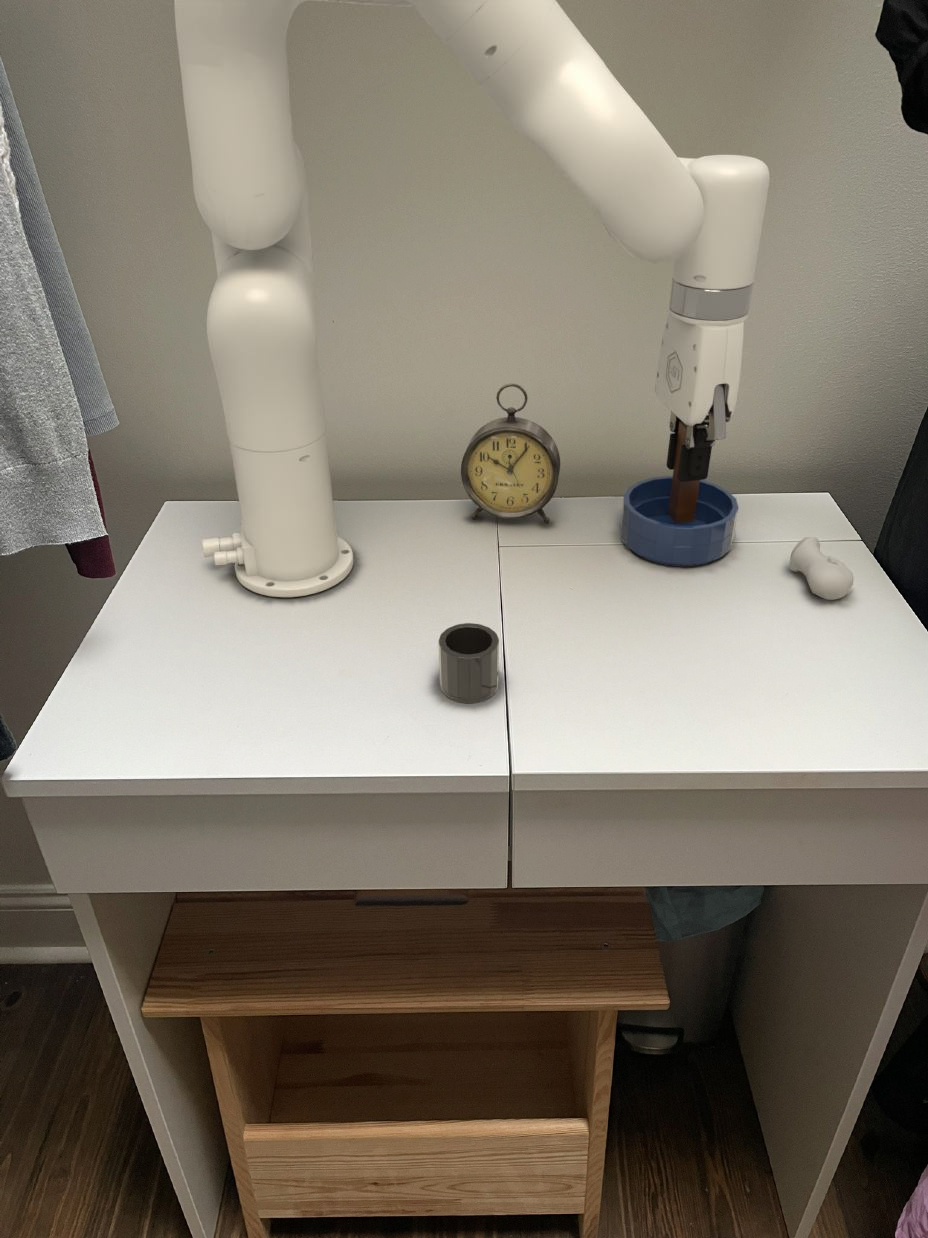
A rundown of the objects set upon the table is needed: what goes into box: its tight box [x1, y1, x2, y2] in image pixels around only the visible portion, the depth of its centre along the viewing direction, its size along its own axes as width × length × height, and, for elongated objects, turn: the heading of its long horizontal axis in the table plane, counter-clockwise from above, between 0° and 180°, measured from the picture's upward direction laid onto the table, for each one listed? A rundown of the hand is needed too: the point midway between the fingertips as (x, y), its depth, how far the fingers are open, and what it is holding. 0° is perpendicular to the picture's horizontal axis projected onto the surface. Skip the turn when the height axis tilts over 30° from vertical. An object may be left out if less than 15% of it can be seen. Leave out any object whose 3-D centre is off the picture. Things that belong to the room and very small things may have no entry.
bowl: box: [619, 475, 739, 567], centre depth 104 cm, size 12×12×5 cm
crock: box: [438, 622, 500, 704], centre depth 84 cm, size 5×5×5 cm
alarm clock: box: [460, 383, 561, 524], centre depth 106 cm, size 11×5×16 cm, turn 81°
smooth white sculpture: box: [789, 536, 854, 601], centre depth 97 cm, size 4×8×5 cm
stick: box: [668, 421, 707, 523], centre depth 101 cm, size 2×2×11 cm
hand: (686, 472), depth 101 cm, fingers closed on stick, 2 cm apart
